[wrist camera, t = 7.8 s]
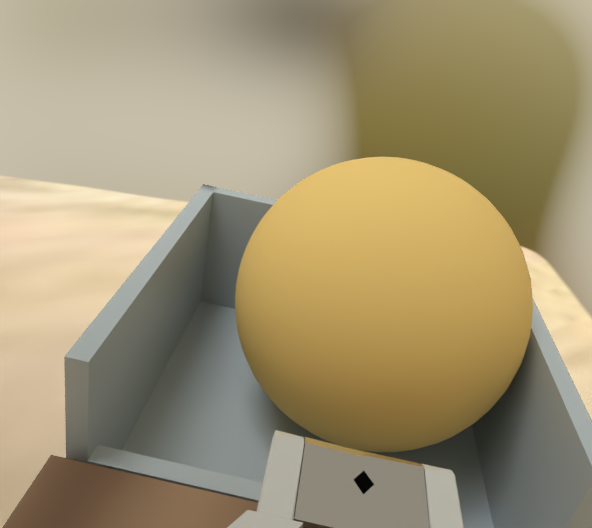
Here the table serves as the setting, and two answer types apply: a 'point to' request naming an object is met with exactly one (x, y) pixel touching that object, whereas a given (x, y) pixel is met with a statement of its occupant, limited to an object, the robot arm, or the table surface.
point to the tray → (261, 409)
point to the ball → (383, 304)
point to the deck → (118, 501)
